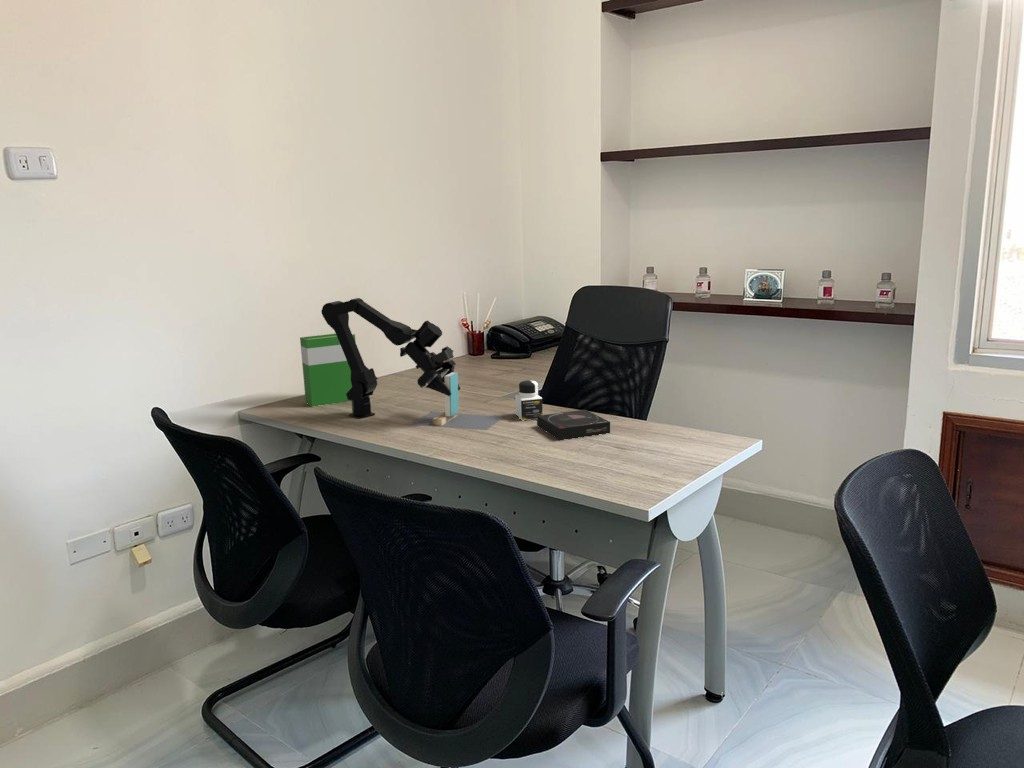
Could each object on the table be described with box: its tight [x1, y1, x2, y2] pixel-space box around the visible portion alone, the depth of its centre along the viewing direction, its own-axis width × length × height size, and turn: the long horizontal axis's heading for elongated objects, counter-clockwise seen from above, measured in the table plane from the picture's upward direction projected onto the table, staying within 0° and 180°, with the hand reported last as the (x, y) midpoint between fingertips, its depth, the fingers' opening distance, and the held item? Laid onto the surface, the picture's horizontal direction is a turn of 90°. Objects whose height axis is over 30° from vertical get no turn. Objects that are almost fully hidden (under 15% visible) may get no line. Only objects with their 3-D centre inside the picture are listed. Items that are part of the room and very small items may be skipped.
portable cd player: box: [536, 409, 611, 441], centre depth 234 cm, size 16×17×4 cm
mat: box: [410, 411, 505, 431], centre depth 246 cm, size 26×16×1 cm, turn 71°
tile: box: [444, 371, 460, 417], centre depth 245 cm, size 2×6×13 cm, turn 161°
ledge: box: [433, 411, 460, 426], centre depth 247 cm, size 3×14×2 cm, turn 161°
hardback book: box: [299, 333, 357, 407], centre depth 275 cm, size 18×7×24 cm, turn 122°
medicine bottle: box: [514, 379, 544, 421], centre depth 248 cm, size 7×7×12 cm
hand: (455, 392), depth 244 cm, fingers open, 7 cm apart
